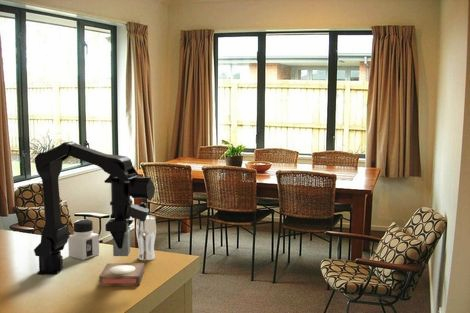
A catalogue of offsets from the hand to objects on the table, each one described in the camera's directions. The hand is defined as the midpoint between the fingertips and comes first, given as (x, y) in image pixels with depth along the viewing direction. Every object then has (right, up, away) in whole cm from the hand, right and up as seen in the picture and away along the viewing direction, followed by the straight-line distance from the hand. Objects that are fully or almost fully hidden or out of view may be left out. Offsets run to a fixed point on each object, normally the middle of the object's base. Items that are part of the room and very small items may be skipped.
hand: (121, 246), depth 156 cm
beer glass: (+4, -8, +21) cm, 23 cm away
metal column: (0, -3, 0) cm, 2 cm away
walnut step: (0, -11, +1) cm, 11 cm away
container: (-19, -8, +24) cm, 32 cm away
